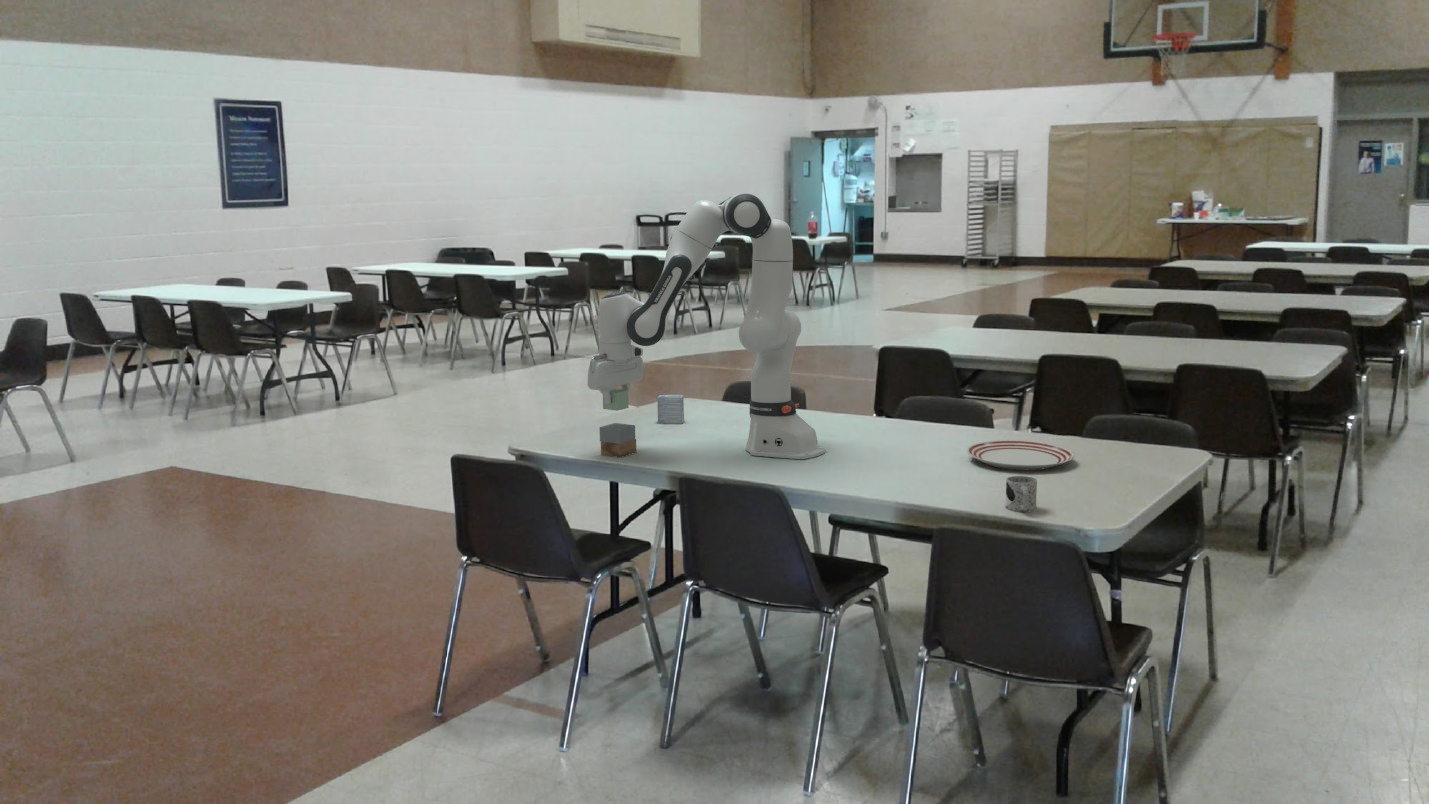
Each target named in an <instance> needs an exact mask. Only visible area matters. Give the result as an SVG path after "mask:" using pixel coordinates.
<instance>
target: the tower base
mask: <svg viewBox="0 0 1429 804" xmlns="http://www.w3.org/2000/svg"><path fill="white" fill-rule="evenodd" d="M632 453H634V454H637V439H636V438H635V440H632V441H628V442H625V443H621V444H617V443H609V442H602V441H600V455H601V456H608V457H614V456H617V457H616V458H623V457H622V456H624V457H627V456H630V455H629V454H631V455H633V454H632ZM626 455H627V456H626Z"/></svg>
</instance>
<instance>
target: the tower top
mask: <svg viewBox="0 0 1429 804" xmlns="http://www.w3.org/2000/svg"><path fill="white" fill-rule="evenodd" d="M635 439H636V425H635V424H627V423H619V422H613V423H610V424H609V423H608V424H606V425H602V426H599V442H601V441H602V442H609V443H617V444H621V443H625V442H628V441H632V440H635Z"/></svg>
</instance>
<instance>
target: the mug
mask: <svg viewBox="0 0 1429 804" xmlns="http://www.w3.org/2000/svg"><path fill="white" fill-rule="evenodd" d="M1005 482H1006V483H1005V509H1007V510H1009V511H1011V512H1018V513H1030V512H1029V511H1031V512H1034V510H1035V511H1036V510H1037V493H1038V491H1037V490H1038V486H1037V485H1038V480H1037V479H1036V478H1035V477H1031V476H1026V475H1024V476H1023V475H1013V476H1008V477H1006V481H1005Z"/></svg>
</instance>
